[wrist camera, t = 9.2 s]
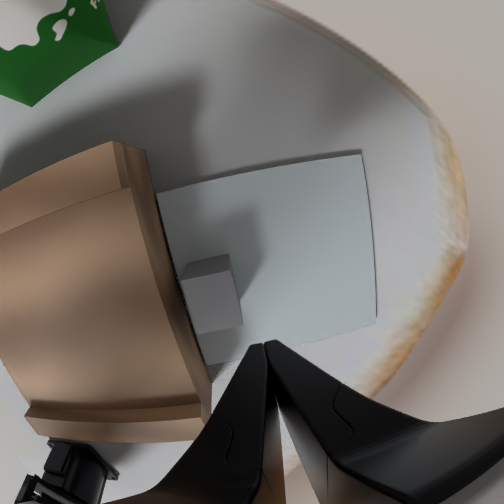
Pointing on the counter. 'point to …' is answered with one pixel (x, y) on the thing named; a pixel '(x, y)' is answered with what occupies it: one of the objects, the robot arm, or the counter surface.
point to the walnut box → (97, 305)
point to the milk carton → (49, 44)
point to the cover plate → (273, 255)
